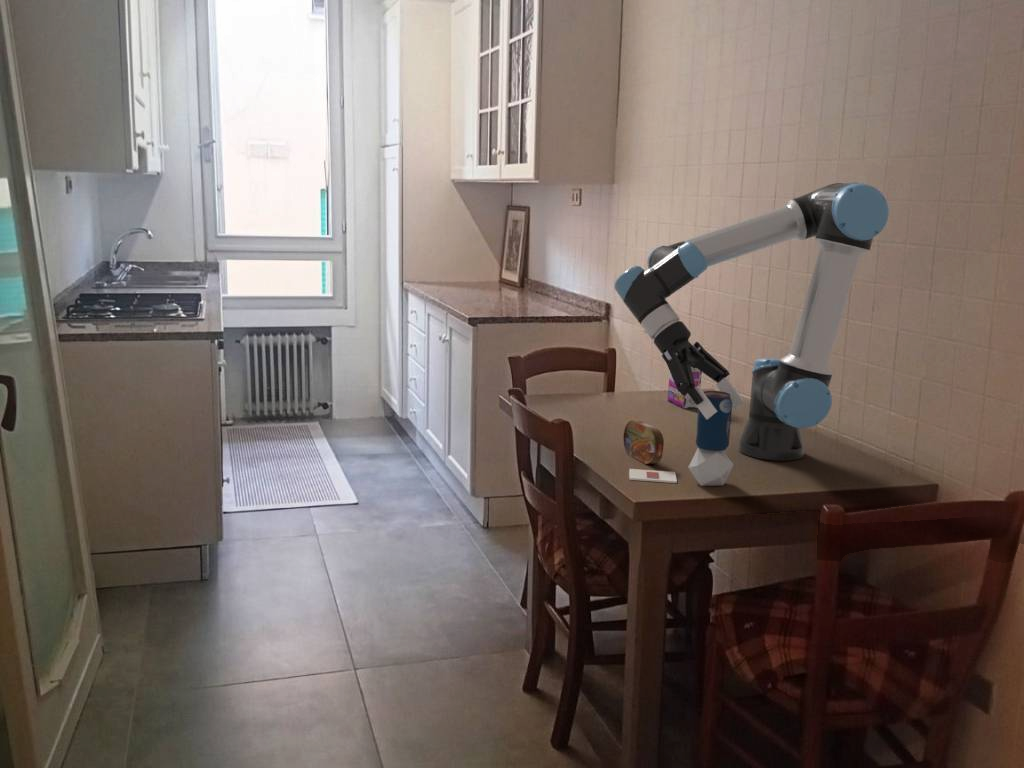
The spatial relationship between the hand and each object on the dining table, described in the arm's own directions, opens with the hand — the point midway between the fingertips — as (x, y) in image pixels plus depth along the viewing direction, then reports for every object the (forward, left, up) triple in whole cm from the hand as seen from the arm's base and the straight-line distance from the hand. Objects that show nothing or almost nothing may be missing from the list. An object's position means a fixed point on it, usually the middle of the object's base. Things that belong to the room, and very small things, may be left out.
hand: (726, 410), depth 200 cm
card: (+14, -3, -16) cm, 22 cm away
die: (+2, -1, -17) cm, 17 cm away
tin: (+16, -17, -17) cm, 29 cm away
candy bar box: (+3, -78, -17) cm, 80 cm away
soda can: (+2, -1, -9) cm, 9 cm away
